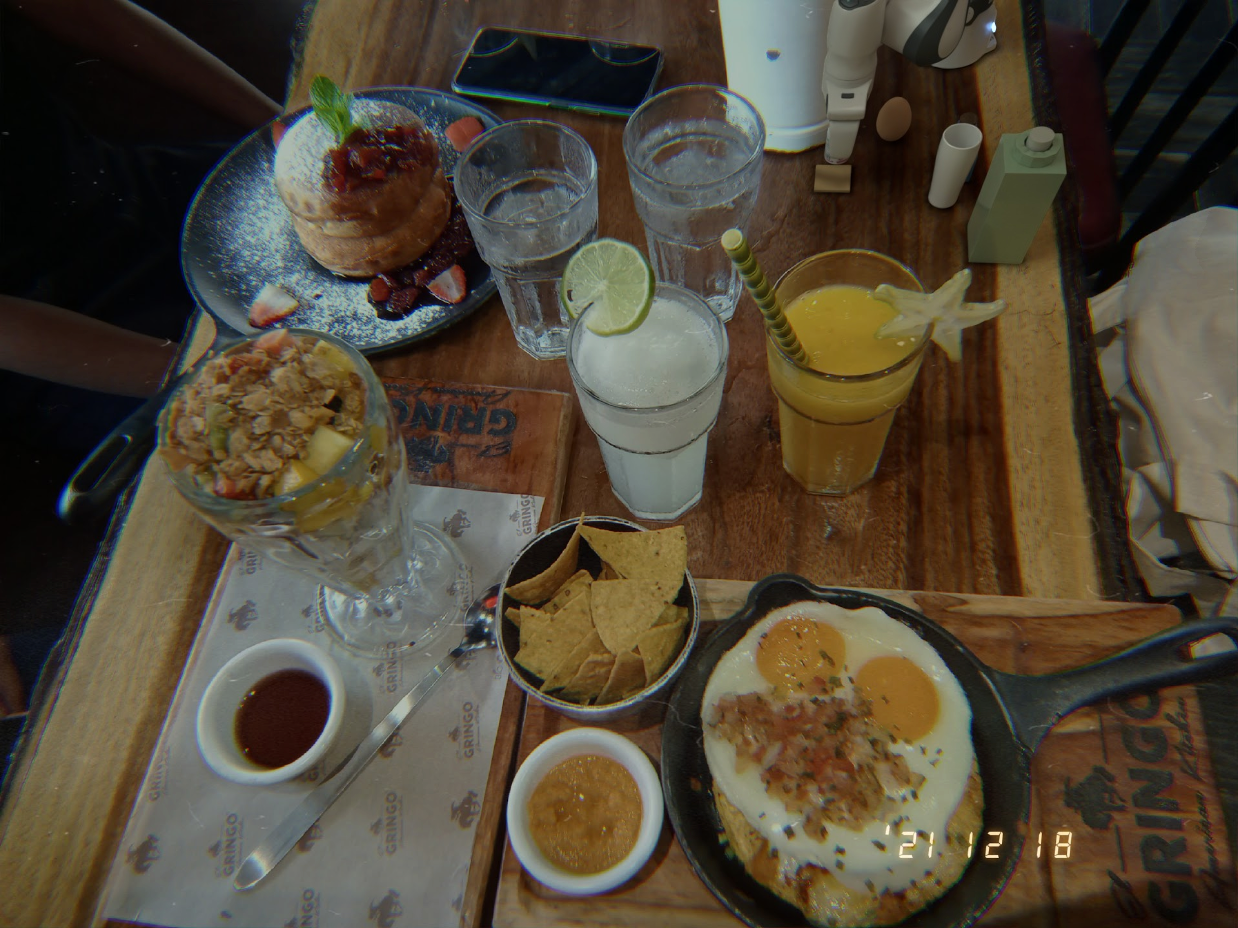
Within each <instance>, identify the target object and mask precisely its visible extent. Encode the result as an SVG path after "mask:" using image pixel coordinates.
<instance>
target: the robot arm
mask: <svg viewBox="0 0 1238 928" xmlns="http://www.w3.org/2000/svg"><path fill="white" fill-rule="evenodd" d="M994 1H995V0H833V3H832V7H831V10H830V14H829V20H828V28H827V33H826V35H827V36H826V46H827V53H826V56H825V57H824V61H823V63H824V64H823V71H822V79H821V80H822V81H821V93H822V94H823V99H824V102H825V114H826V119H827V120H828V128H829V154H830V158H832V159H847V160H849V158H850V157H851V155H852V153H853V150H854V147H855V143H856V140H857V135H858V132H859V127H860V123H861V120H863V119H865V117H866V111H867V106H868V105H867V104H868V100H869V98H870V95H871V93H872V91H873V88H874V82H875V77H876V70H877V65H878V55H877V54H878V53H877V52H878V50H879V48H880V47H882V46H883V45H884V46H887V47H888V48H890V49H893V50H894V51H896V52H898V54H899V53H900V54H901V55H902V56H903V57H904V58H905V59H907V60H908V61H910V62H911V63H913V64H914V65H915V66H917V67H918V68H923V67H924V68H925V67H929V66H932V67H934V68H935V67H936V68H940V69H958V68H963V67H967V66H969V65H972V64H974V63H975V62H977V61H978V60H979V59H981V57H983V56H984V55H985V54H986V53H990V52H992V51H993V50H995V49H996V47H997V40H996V39H997V38H996V37H995V34H994V33H995V32H996V29H997V26H996V24H995V23H996V20H997V16H998V9H996V8H997V7H996V6H995V4H994Z"/></svg>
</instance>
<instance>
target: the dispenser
mask: <svg viewBox="0 0 1238 928" xmlns="http://www.w3.org/2000/svg"><path fill="white" fill-rule="evenodd" d="M1032 129H1033V128H1029V129H1027V130H1024V131H1022V132H1020V133H1002V134H1001V137H1000V139H999V142H998V144H997V147H996V149H995V153H994V155H993V158H992V160H991V163H990V166H989V167H988V171H987V174H986V176H985V179H984V181H983V184H982V187H981V189H980V192H979V194H978V197H977V199H976V201H975V204H974V207H973V210H972V213H971V215H970V218H969V220H968V223H967V225H966V226H967V253H968V254H967V257H968V263H980V264H981V263H984V264H985V263H986V264H1013V265H1014V264H1015V265H1016V264H1017V265H1022V263H1023V261H1024V259H1025V257H1026V255H1027V253H1028V251H1029V249H1030V247H1031V245H1032V243H1033V241H1034V239H1035V237H1036V235H1037V233H1038V232H1039V229H1040V228H1041V225H1042V223H1043V221H1044V219H1045V218H1046V216H1047V213H1048V212H1049V209H1050V207H1051V206H1052V204H1053V202H1054V200H1055V198H1056V196H1057V194H1058V192H1059V190H1060V187H1061V185H1062V184H1063V182H1064V180H1065V178H1066V176H1067V174H1068V173H1067V164H1066V154H1065V147H1064V136H1063V133H1055V132H1054V134H1055V137H1054V139H1053V141H1052V143H1051V145H1050V148H1049V149H1048V150H1047V151H1045V152H1034V151H1031V150H1029V149H1028V148H1027V147H1026V145H1025V143H1026V141H1027V138H1028V136H1029V134H1030V131H1031V130H1032Z"/></svg>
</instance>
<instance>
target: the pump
mask: <svg viewBox="0 0 1238 928" xmlns="http://www.w3.org/2000/svg"><path fill="white" fill-rule="evenodd" d="M1031 129H1032V130H1031V131H1030V134H1029V136H1028V138H1027V141H1026V143H1025V145H1026V147H1027V148H1028V149H1029V150H1031V151H1034V152H1045V151H1047V150H1048V149H1049V148H1050V145H1051V143H1052V141H1053V139H1054V137H1055V134H1054V133H1055V131H1054V130H1053V129H1052V128H1050V127H1047V126H1041V125H1040V126H1036V127H1033V128H1031Z"/></svg>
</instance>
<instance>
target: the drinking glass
mask: <svg viewBox="0 0 1238 928" xmlns="http://www.w3.org/2000/svg"><path fill="white" fill-rule="evenodd" d="M957 123H958V122H957ZM957 123H955V124H951V125H949V126H948V127H946V129H945V130H944V131H943V133H942V136H941V139H940V142H939V145H938V148H937V152H936V157H935V161H934V162H935V163H934V168H933V172H932V177H931V183H930V187H929V192H928V195H927V198H928V202H929V204H931V206H933V207H935V208H938V209H947V208H951V207H953V206H954V205H955V204H956V202H957V200H958V197H959V196H960V193H961V191H962V189H963V187H964V184H965V183H966V182H965V180H966V178H967V176H968V174H969V172H970V170H971V168H972V165H973V163H974V161H975V159H976V156H977V154H978V155H979V152H980V148H981V144H982V141H983V133H982V131H981V129H980V128H978V127H975V126H974V125H971V124H966V123H958V124H957Z"/></svg>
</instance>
